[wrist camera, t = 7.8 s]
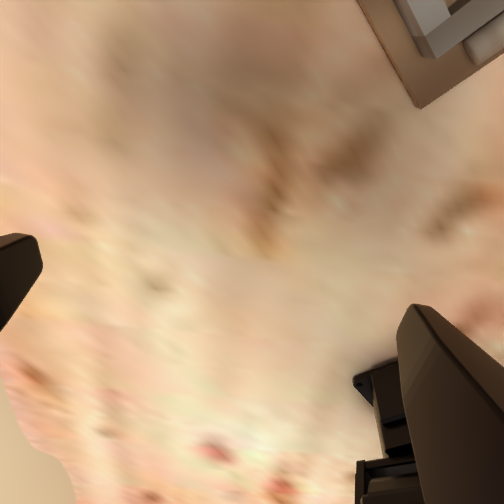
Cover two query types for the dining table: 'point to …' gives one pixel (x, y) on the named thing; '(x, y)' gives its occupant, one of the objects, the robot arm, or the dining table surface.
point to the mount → (437, 40)
